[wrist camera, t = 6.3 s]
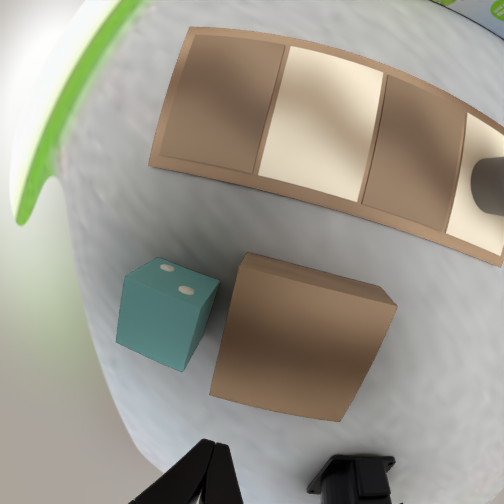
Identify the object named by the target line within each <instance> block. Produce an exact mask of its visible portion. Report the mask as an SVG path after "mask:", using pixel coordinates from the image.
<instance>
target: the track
mask: <svg viewBox="0 0 504 504" xmlns="http://www.w3.org/2000/svg"><path fill="white" fill-rule="evenodd" d="M494 157H504V127H503V126H501V125H500V124H498V123H497V122H495V121H494V120H492V119H491V118H489V117H488V116H486V115H485V114H483V113H482V112H480V111H478V110H477V109H475V108H473V107H472V106H470V105H468V104H467V103H465V102H463V101H462V100H460V99H458V98H456V97H454V96H453V95H451V94H449V93H447V92H445V91H443V90H441V89H439V88H437V87H435V86H433V85H431V84H429V83H427V82H425V81H423V80H421V79H419V78H416V77H414V76H412V75H410V74H407V73H405V72H403V71H400V70H398V69H395V68H393V67H390V66H388V65H385V64H382V63H380V62H377V61H374V60H371V59H369V58H366V57H363V56H360V55H357V54H353V53H350V52H347V51H344V50H340V49H337V48H333V47H329V46H326V45H322V44H318V43H314V42H309V41H305V40H300V39H296V38H291V37H286V36H280V35H274V34H268V33H261V32H254V31H246V30H237V29H226V28H212V27H189V30H188V32H187V35H186V37H185V40H184V43H183V45H182V48H181V51H180V54H179V57H178V59H177V62H176V65H175V68H174V71H173V74H172V77H171V81H170V84H169V87H168V90H167V93H166V97H165V100H164V104H163V107H162V111H161V114H160V118H159V122H158V125H157V129H156V133H155V137H154V141H153V145H152V150H151V154H150V158H149V163H148V166H152V167H157V168H162V169H168V170H173V171H178V172H183V173H188V174H193V175H198V176H202V177H207V178H212V179H216V180H221V181H225V182H230V183H234V184H238V185H242V186H247V187H251V188H255V189H259V190H263V191H267V192H271V193H275V194H279V195H283V196H287V197H291V198H294V199H298V200H302V201H305V202H309V203H313V204H316V205H320V206H323V207H327V208H330V209H334V210H337V211H341V212H344V213H347V214H351V215H354V216H357V217H361V218H364V219H367V220H370V221H373V222H377V223H380V224H383V225H386V226H389V227H392V228H395V229H398V230H401V231H404V232H407V233H410V234H413V235H416V236H419V237H422V238H424V239H427V240H430V241H433V242H436V243H438V244H441V245H444V246H447V247H449V248H452V249H455V250H457V251H460V252H463V253H465V254H468V255H470V256H473V257H475V258H478V259H480V260H483V261H485V262H488V263H490V264H493V265H495V266H498V267H500V268H501V267H502V263H503V260H504V217H503V216H498V215H493V214H488V213H485V212H483V211H482V210H480V209H479V207H478V206H477V205H476V203H475V201H474V199H473V196H472V192H471V174H472V170H473V168H474V166H475V164H476V163H477V162H478V161H479V160H481V159H484V158H494Z"/></svg>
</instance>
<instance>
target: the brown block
mask: <svg viewBox="0 0 504 504" xmlns="http://www.w3.org/2000/svg"><path fill="white" fill-rule="evenodd" d="M396 309H397V305H396V304H395V303H394V302H393V300H392V299H391V298H390V297H389V296H388V295H387V294H386V293H385V291H384V290H383V289H382V288H381V287H379V286H375V285H371V284H368V283H364V282H360V281H356V280H352V279H348V278H345V277H341V276H337V275H333V274H329V273H326V272H322V271H318V270H314V269H310V268H307V267H303V266H299V265H295V264H291V263H288V262H284V261H280V260H276V259H272V258H269V257H265V256H261V255H257V254H253V253H250V252H247V254H246V255H245V257H244V259H243V260H242V262H241V264H240V265H239V269H238V273H237V277H236V282H235V286H234V290H233V294H232V298H231V303H230V307H229V311H228V315H227V320H226V324H225V328H224V332H223V337H222V341H221V345H220V350H219V354H218V358H217V362H216V367H215V371H214V376H213V380H212V384H211V389H210V393H209V395H211V396H215V397H218V398H222V399H225V400H229V401H233V402H236V403H240V404H244V405H248V406H252V407H257V408H261V409H266V410H270V411H275V412H280V413H285V414H290V415H295V416H301V417H307V418H313V419H320V420H327V421H334V422H340V421H341V419H342V418H343V416H344V414H345V413H346V411H347V409H348V407H349V406H350V404H351V402H352V400H353V399H354V397H355V395H356V393H357V391H358V390H359V388H360V386H361V384H362V382H363V380H364V378H365V376H366V375H367V373H368V371H369V369H370V367H371V365H372V363H373V361H374V359H375V356H376V354H377V352H378V350H379V348H380V346H381V344H382V342H383V339H384V337H385V335H386V333H387V330H388V328H389V326H390V323H391V321H392V319H393V316H394V314H395V311H396Z"/></svg>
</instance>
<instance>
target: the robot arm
mask: <svg viewBox="0 0 504 504" xmlns="http://www.w3.org/2000/svg"><path fill="white" fill-rule="evenodd" d="M395 463H396V461H395V458H375V457H349V456H334V457H332V458H331V459H330V460H329V461H328V463H327V464H326V465H325V467H324V468H323V469H322V470H321V472H320V473H319V474H318V476H317V477H316V478H315V479H314V481H313V482H312V483H311V484H310V485H309V487H308V488H307V493H309V494H321V504H392V502H391V498H390V494H391V490H390V486H389V482H388V478H387V474H386V473H387V472H388V471H389V470H390V469H391V467H392V466H393V465H394V464H395ZM203 483H204V484H203ZM201 490H202V491H201ZM200 493H201V494H200ZM199 496H200V499H199V504H244V503H243V500H242V496H241V492H240V489H239V485H238V481H237V477H236V473H235V469H234V465H233V461H232V457H231V453H230V448H229V446H228V445H226V444H222V443H218V442H217V443H215V442H214V441H211V440H207V439H202V440H200V441H199V442H198V443H197V444H196V445H195V446H194V447H193V448H192V449H191V450H190V451H189V452H188V453H187V454H186V455H185V456H183V457H182V458H181V459H180V460H179V461H178V462H177V463H176V464H175V465H174V466H172V467H171V468H170V469H169V470H168V471H167V472H166V473H164V474H163V475H162V476H161V477H160V478H159V479H158V480H156V481H155V483H153V484H152V485H150V486H149V487H148V488H147V489H146V490H144V491H143V492H142V493H141V494H140V495H138V496H137V497H136V498H135V501H134V500H132V501H131V502H129V503H128V504H196V503H197V500H198V498H199ZM400 504H403V503H400Z"/></svg>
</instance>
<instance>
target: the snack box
mask: <svg viewBox="0 0 504 504" xmlns="http://www.w3.org/2000/svg"><path fill="white" fill-rule="evenodd" d="M432 1H435V2H437V3H439V4H442V5H444V6H446V7H448V8H450V9H452V10H454V11H456V12H458V13H460V14H462V15H464V16H466V17H468V18H470V19H471V20H473V21H475V22H477V23H479V24H480V25H482V26H484V27H485V28H487V29H489V30H490V31H492V32H494V33H495V34H497V35H498V36H500V37H501V38H503V39H504V0H432Z"/></svg>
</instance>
